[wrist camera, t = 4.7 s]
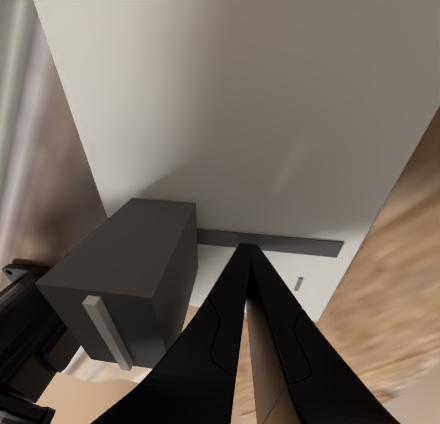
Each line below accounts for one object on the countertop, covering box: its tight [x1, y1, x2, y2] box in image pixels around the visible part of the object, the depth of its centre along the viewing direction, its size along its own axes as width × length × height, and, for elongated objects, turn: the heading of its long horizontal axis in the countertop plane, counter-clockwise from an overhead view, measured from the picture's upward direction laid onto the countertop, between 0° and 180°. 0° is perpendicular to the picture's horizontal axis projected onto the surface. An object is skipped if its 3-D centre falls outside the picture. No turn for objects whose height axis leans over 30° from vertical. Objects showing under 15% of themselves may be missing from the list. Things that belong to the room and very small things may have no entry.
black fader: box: [35, 198, 198, 371], centre depth 7 cm, size 3×4×5 cm
